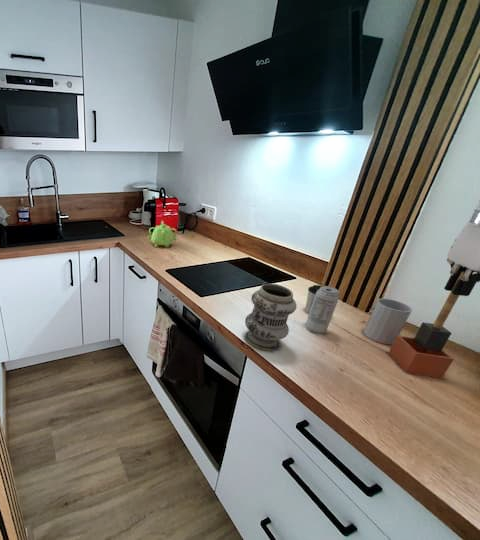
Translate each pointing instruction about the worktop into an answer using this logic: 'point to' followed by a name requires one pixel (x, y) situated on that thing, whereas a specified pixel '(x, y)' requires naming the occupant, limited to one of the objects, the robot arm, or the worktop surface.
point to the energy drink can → (322, 309)
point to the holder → (419, 358)
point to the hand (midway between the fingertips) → (455, 292)
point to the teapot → (162, 235)
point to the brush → (437, 326)
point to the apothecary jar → (269, 316)
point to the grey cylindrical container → (387, 320)
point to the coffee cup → (311, 297)
